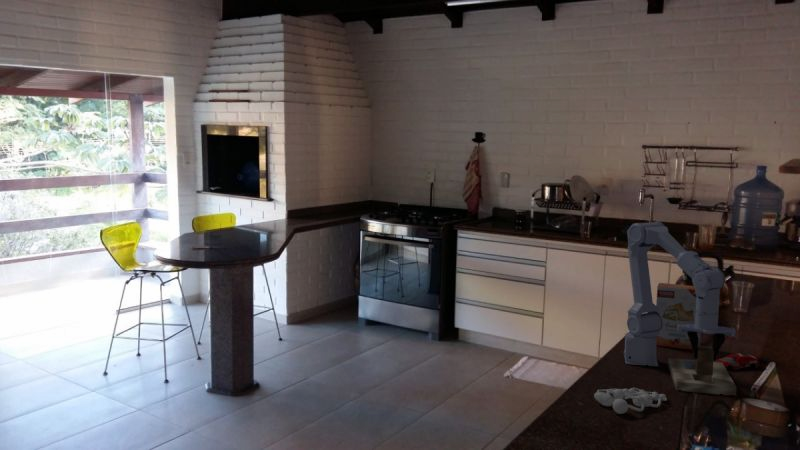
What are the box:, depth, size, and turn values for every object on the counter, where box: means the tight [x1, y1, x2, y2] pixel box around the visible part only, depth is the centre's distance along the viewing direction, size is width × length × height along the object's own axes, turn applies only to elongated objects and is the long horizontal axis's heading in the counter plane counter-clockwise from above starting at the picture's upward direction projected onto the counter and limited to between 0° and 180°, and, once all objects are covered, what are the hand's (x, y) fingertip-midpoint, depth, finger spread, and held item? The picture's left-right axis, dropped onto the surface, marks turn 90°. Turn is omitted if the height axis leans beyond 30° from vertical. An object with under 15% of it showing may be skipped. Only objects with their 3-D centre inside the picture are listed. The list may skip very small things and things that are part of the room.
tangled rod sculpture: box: [593, 387, 668, 415], centre depth 169 cm, size 19×14×4 cm
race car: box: [715, 352, 760, 372], centre depth 194 cm, size 13×5×4 cm, turn 99°
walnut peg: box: [694, 345, 714, 376], centre depth 178 cm, size 4×4×7 cm
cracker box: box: [655, 282, 702, 351], centre depth 213 cm, size 14×6×21 cm, turn 62°
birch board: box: [667, 357, 738, 397], centre depth 184 cm, size 15×20×3 cm
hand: (704, 358), depth 178 cm, fingers closed on walnut peg, 4 cm apart
